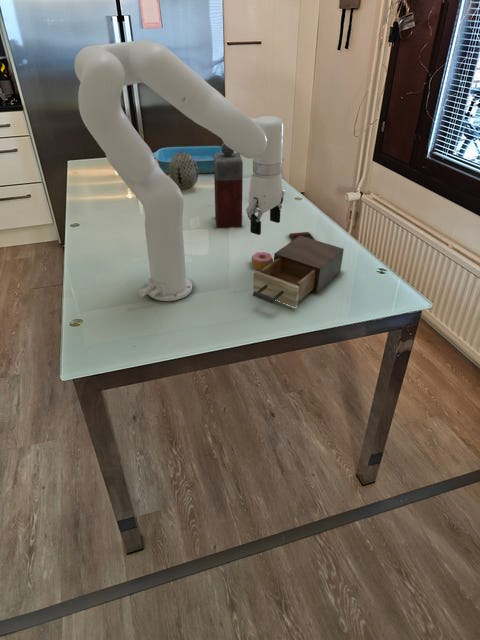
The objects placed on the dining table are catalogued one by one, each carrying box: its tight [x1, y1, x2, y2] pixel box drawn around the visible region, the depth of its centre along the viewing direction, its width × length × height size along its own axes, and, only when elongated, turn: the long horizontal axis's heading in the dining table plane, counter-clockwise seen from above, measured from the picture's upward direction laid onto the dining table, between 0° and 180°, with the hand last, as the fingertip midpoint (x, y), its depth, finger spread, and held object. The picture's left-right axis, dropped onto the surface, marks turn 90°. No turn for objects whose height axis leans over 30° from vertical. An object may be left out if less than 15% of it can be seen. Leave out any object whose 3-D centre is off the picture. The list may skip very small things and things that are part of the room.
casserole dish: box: [152, 145, 223, 175], centre depth 214 cm, size 37×22×7 cm, turn 97°
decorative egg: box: [168, 152, 199, 191], centre depth 189 cm, size 12×12×15 cm
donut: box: [251, 251, 274, 271], centre depth 140 cm, size 6×6×3 cm
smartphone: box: [289, 231, 316, 241], centre depth 152 cm, size 7×1×15 cm
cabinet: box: [273, 236, 345, 295], centre depth 134 cm, size 14×14×8 cm
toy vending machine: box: [213, 141, 244, 229], centre depth 159 cm, size 9×11×28 cm
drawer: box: [252, 258, 317, 308], centre depth 124 cm, size 19×13×6 cm
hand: (265, 227), depth 133 cm, fingers open, 9 cm apart
